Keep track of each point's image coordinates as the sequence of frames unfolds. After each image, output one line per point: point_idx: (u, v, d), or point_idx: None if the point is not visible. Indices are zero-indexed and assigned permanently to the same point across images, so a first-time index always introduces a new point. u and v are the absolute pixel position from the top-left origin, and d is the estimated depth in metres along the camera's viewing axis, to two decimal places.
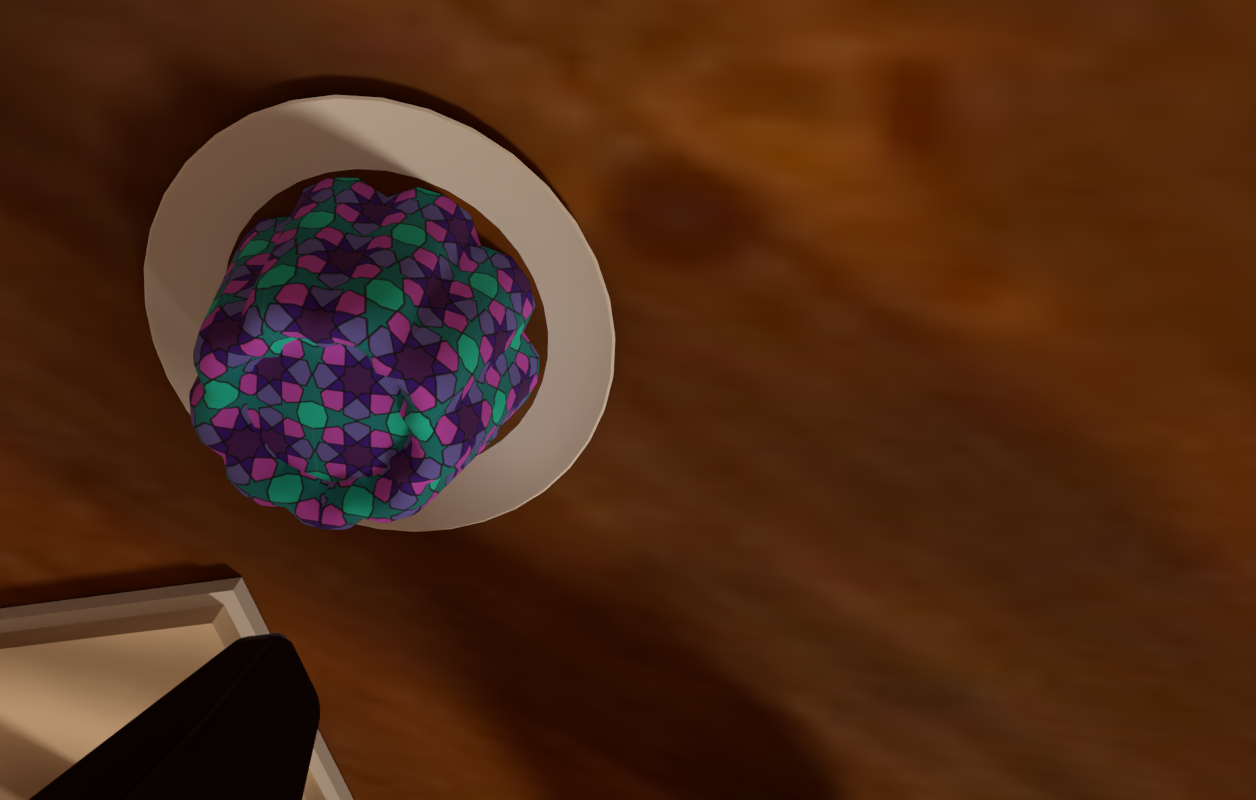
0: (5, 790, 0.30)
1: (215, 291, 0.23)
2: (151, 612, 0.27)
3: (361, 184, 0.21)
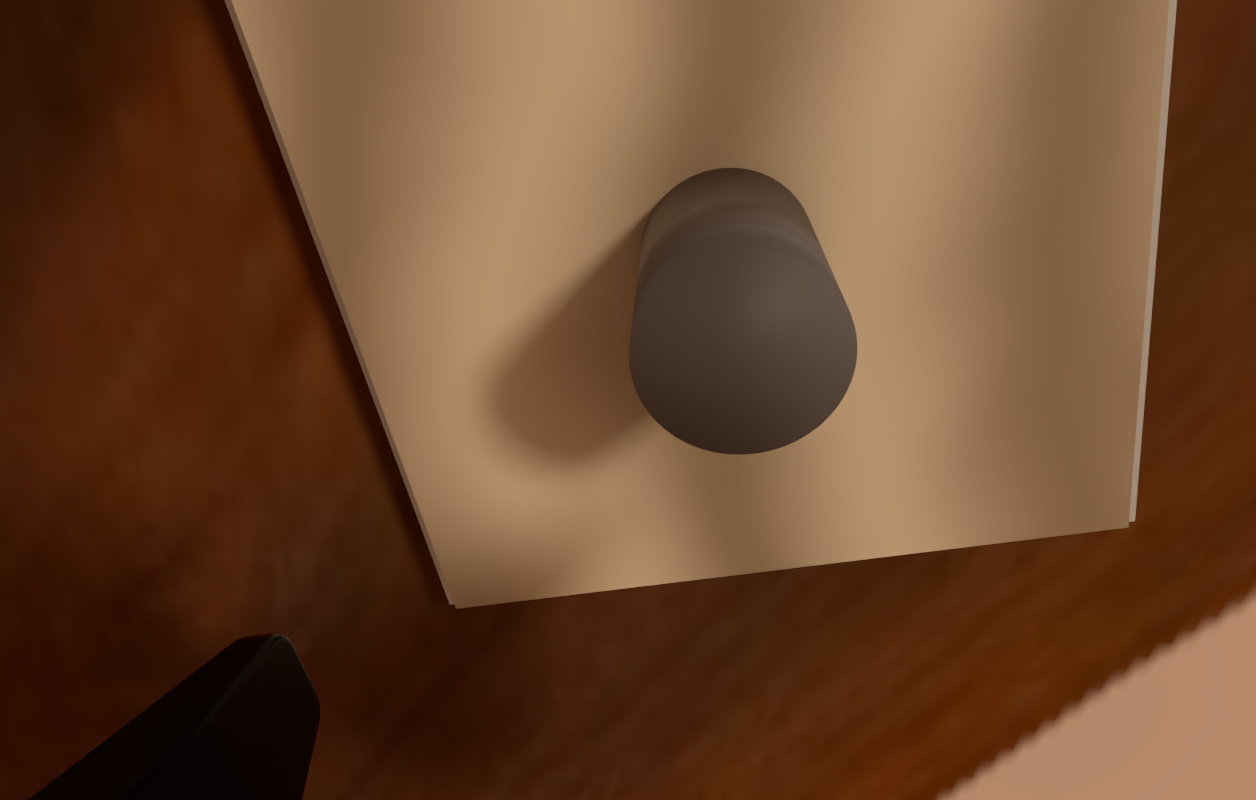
0: None
1: None
2: None
3: None
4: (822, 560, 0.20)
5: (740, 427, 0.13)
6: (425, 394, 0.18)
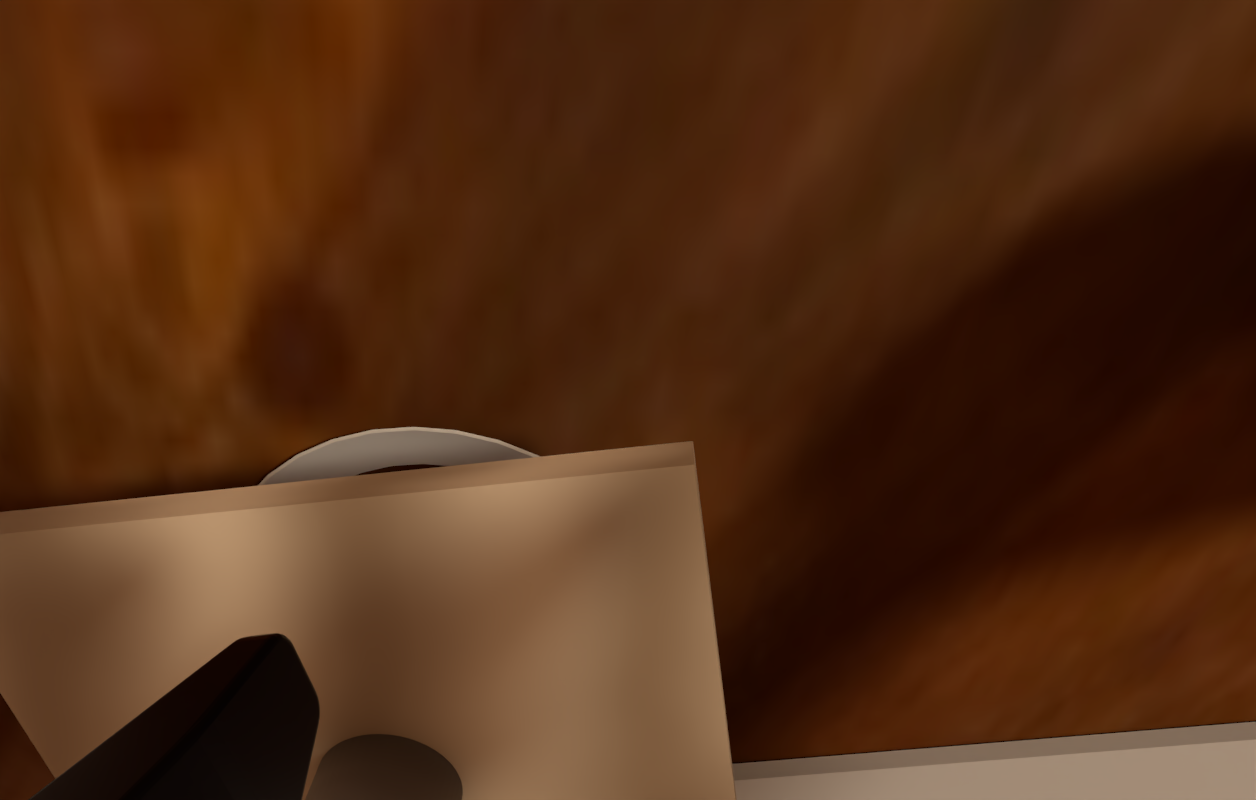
0: None
1: None
2: None
3: None
4: None
5: None
6: None
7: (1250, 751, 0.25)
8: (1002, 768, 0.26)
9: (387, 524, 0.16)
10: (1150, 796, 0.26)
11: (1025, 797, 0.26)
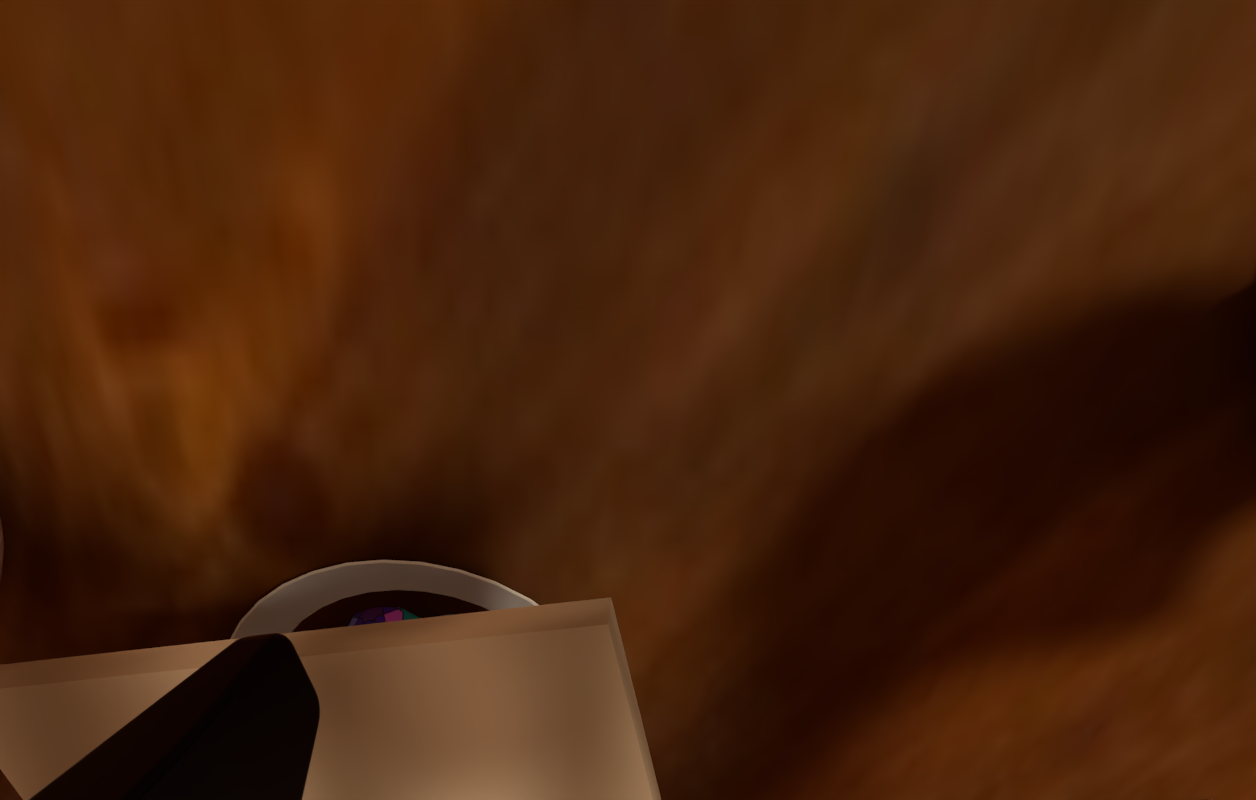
0: None
1: None
2: None
3: None
4: None
5: None
6: None
7: None
8: None
9: (349, 674, 0.19)
10: None
11: None
